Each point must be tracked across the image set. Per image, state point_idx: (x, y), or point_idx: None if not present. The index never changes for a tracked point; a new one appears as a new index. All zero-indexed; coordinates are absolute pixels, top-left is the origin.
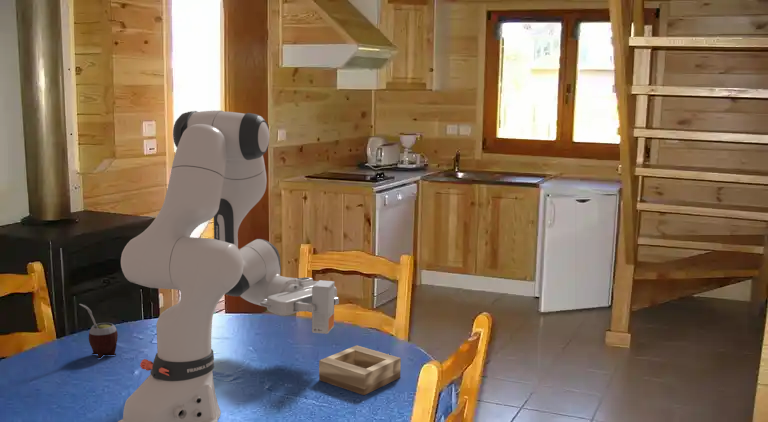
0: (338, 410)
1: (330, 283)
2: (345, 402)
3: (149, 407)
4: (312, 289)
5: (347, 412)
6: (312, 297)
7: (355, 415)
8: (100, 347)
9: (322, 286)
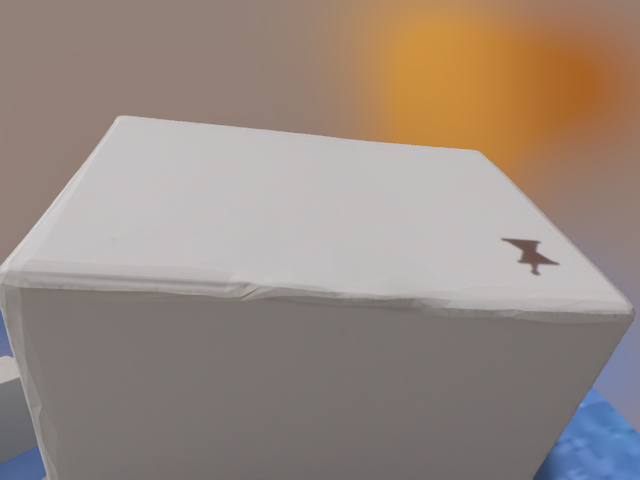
0: (626, 457)
1: (274, 137)
2: (558, 451)
3: None
4: (604, 363)
5: (612, 427)
6: (535, 470)
7: (607, 401)
8: None
9: (512, 187)
